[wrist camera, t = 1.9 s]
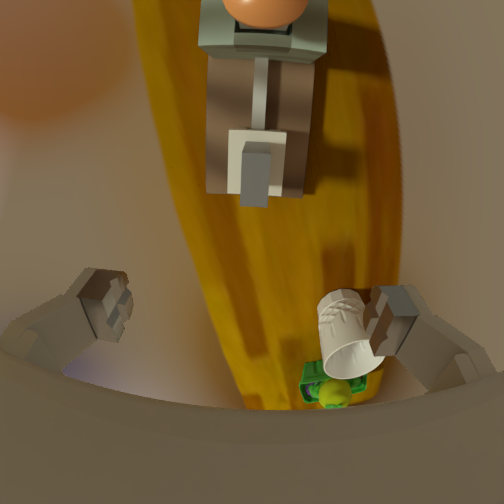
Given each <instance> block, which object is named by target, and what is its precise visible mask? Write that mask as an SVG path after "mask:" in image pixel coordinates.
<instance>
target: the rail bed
mask: <svg viewBox="0 0 504 504" xmlns="http://www.w3.org/2000/svg"><path fill="white" fill-rule="evenodd" d="M327 26H328V0H308V3H307V6H306V8H305V10H304V12H303V13H302V15H301V16H300V17H299V18H298V19H297V20H295V21H294V22H293V23H291V24H289V25H288V28H287V30H286V31H279V30H265V29H240V25H239V22H238V21H236V20H235V19H234V18H233V17H232V16H231V15H230V14H229V13H228V11H227V10H226V8H225V5H224V3H223V0H202V1H201V12H200V24H199V39H198V46H199V47H200V48H201V49H203V50H204V51H205V52H206V53H207V54H208V76H207V106H206V193H216V194H229V193H227V184H228V141H229V129H230V128H233V129H235V128H236V127H241V128H246V129H258V130H270V129H277V130H281V131H285V132H286V133H287V134H286V147H285V159H284V171H283V182H282V193H281V196H277V197H291V198H302V197H303V189H304V181H305V172H306V163H307V153H308V143H309V133H310V122H311V111H312V98H313V85H314V70H315V60H316V59H318V58H319V57H321V56H322V55H324V54H325V53H326V50H327ZM268 196H269V195H268Z"/></svg>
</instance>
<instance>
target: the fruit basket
mask: <svg viewBox="0 0 504 504" xmlns="http://www.w3.org/2000/svg"><path fill="white" fill-rule="evenodd" d="M366 384H367V374H365V375H362V376H359V377H356V378H351V379H336V378H333V377H330V376H328V375H327V374H326V373H325V371H324V368H323V360H319V361H316V362H309V363H305V364H304V369H303V374H302V378H301V381H300V384H299V388H300V391H301V394H302V397H303V400H304V402H305V403H312V402H318V401H319V402H320V404H321V405H322V406H323V407H324V408H325V409H330V408H342V407H347V406H348V404H349V403H350V401H351V398H352V394H354V393H359V392H362V391H364V390H366Z"/></svg>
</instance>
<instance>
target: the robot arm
mask: <svg viewBox="0 0 504 504" xmlns="http://www.w3.org/2000/svg"><path fill="white" fill-rule="evenodd" d="M128 283H129V281H128V278H127V274H126V273H125V272H124V271H115V270H107V269H98V268H85V269H84V270H83V272H82V273H81V274H80V275H79V276H78V277H77V279H76V280H75V281H74V283H73V284H72V285H71V286H70V287H69V289H68V290H67V291H66V293H65V294H64V295H61V294H60V295H58V296H57V297H55V298H53V299H51V300H49V301H47V302H45V303H43V304H42V305H40V306H38V307H36V308H34V309H33V310H31V311H29V312H27V313H25V314H23V315H22V316H20V317H18V318H16V319H15V320H13V321H11V322H10V323H9V325H8V326H7V328H6V329H5V330H4V332H3V333H2V334H1V336H0V504H504V371H501V372H499V373H497V371H496V370H495V368H494V366H493V364H492V363H491V360H490V359H489V357H488V355H487V353H486V351H485V350H484V348H483V347H482V346H480V345H479V344H477V343H476V342H475V341H473V340H472V339H470V338H469V337H468V336H466V335H464V334H463V333H462V332H461V331H459V330H458V329H456V328H455V327H453V326H452V325H450V324H449V323H448V322H446V321H445V320H443V319H442V318H440V317H439V316H437V315H433V314H432V312H431V311H430V309H429V307H428V306H427V304H426V303H425V301H424V299H423V298H422V296H421V295H420V293H419V292H418V290H417V289H416V287H415V286H413V285H400V286H385V285H375V286H374V287H373V288H372V290H371V293H370V297H371V299H372V301H370V302H369V303H368V304H367V305H366V307H365V310H364V312H363V327H364V330H365V332H366V333H367V334H368V335H370V336H371V338H370V340H369V344H370V347H371V350H372V353H373V356H374V357H377V356H393V355H396V356H395V357H396V358H397V359H398V360H399V361H400V362H401V363H402V364H403V365H404V366H405V367H406V368H407V369H408V370H409V371H410V372H411V373H412V374H413V375H414V376H415V377H416V378H417V379H418V380H419V382H421V384H422V385H423V386H424V387H425V388H426V389H427V392H426V393H425V394H424V395H421V396H417V397H411V398H406V399H401V400H396V401H390V402H384V403H377V404H369V405H361V406H354V407H342V408H330V409H314V410H247V409H231V408H230V409H229V408H218V407H208V406H199V405H190V404H183V403H177V402H170V401H164V400H158V399H153V398H148V397H143V396H138V395H133V394H129V393H124V392H120V391H116V390H112V389H108V388H104V387H101V386H97V385H94V384H90V383H87V382H83V381H80V380H77V379H74V378H71V377H68V376H65V375H64V374H63V372H62V371H61V370H62V369H63V368H64V367H66V365H68V364H69V363H70V362H71V361H73V360H74V359H75V358H76V357H77V356H78V355H80V354H81V353H82V352H83V351H84V350H86V349H87V348H88V347H89V346H90V345H92V344H93V343H94V342H96V341H97V339H99V340H105V341H110V342H117V343H118V342H119V340H120V337H121V335H122V333H123V331H124V329H125V328H124V325H123V323H124V322H126V321H127V320H129V318H130V316H131V314H132V310H133V297H132V293H131V292H130V291H129V289H127V287H126V286H127V284H128Z"/></svg>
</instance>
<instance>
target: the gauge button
mask: <svg viewBox="0 0 504 504" xmlns="http://www.w3.org/2000/svg"><path fill="white" fill-rule="evenodd" d="M223 3H224V5H225V8H226V10H227V11H228V13H229V14H230V15H231V16H232V17H233V18H234V19H235V20H236V21H238V22H239V25H240V29H265V30H279V31H286V30H287V28H288V25H289V24H291V23H293V22H294V21H295V20H297V19H298V18H299V17H300V16H301V15H302V13H303V12H304V10H305V8H306V6H307V3H308V0H223Z"/></svg>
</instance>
